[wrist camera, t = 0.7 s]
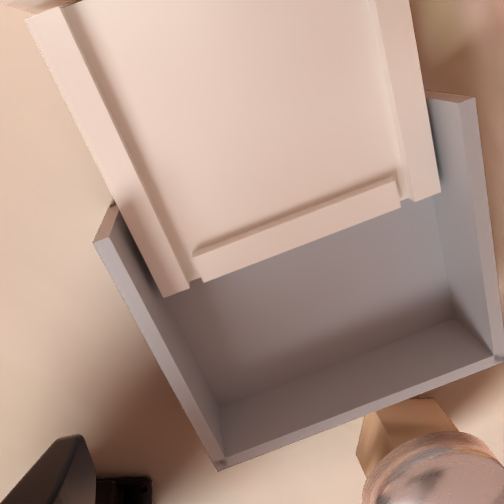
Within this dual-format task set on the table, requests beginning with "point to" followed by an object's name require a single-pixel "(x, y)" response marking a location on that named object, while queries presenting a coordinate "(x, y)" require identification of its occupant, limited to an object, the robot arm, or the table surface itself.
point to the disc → (437, 472)
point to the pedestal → (398, 428)
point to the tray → (241, 120)
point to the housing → (330, 311)
